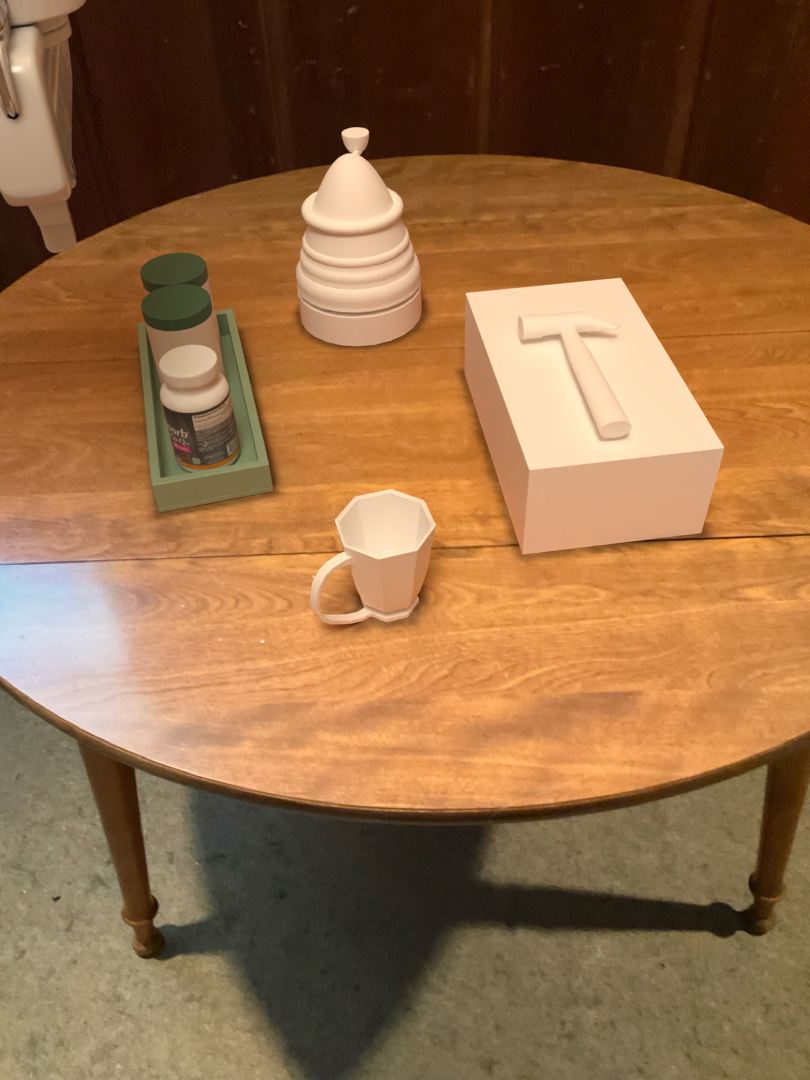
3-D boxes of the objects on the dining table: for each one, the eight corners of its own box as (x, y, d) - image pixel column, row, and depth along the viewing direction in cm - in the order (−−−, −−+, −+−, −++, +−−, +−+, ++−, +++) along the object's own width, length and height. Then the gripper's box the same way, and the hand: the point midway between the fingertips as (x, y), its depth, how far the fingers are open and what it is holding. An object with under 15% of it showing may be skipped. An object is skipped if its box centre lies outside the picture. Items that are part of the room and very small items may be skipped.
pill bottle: (164, 454, 81) (138, 358, 74) (220, 427, 84) (199, 332, 77) (197, 486, 78) (173, 389, 71) (254, 457, 81) (236, 361, 74)
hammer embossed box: (609, 357, 91) (624, 254, 83) (701, 533, 73) (731, 422, 65) (464, 372, 90) (466, 269, 82) (522, 554, 72) (531, 444, 64)
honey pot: (324, 276, 104) (307, 110, 91) (435, 289, 101) (433, 119, 88) (282, 337, 95) (257, 162, 83) (402, 353, 92) (395, 175, 80)
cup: (456, 604, 69) (457, 525, 63) (347, 674, 64) (338, 596, 59) (397, 552, 73) (393, 474, 67) (291, 615, 68) (277, 537, 63)
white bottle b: (165, 382, 89) (141, 288, 82) (161, 349, 93) (138, 257, 86) (227, 371, 90) (209, 278, 83) (220, 339, 94) (202, 248, 87)
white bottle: (164, 418, 85) (139, 323, 78) (165, 381, 89) (141, 287, 82) (230, 409, 86) (211, 314, 79) (227, 373, 90) (209, 280, 83)
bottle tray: (273, 491, 78) (269, 464, 76) (159, 512, 77) (151, 485, 75) (237, 333, 96) (232, 307, 94) (143, 348, 94) (136, 322, 92)
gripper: (53, 19, 44) (118, 284, 54) (59, -70, 58) (109, 151, 68) (-87, 30, 43) (4, 298, 53) (-46, -64, 57) (20, 160, 67)
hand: (63, 214), depth 60 cm, fingers open, 8 cm apart
